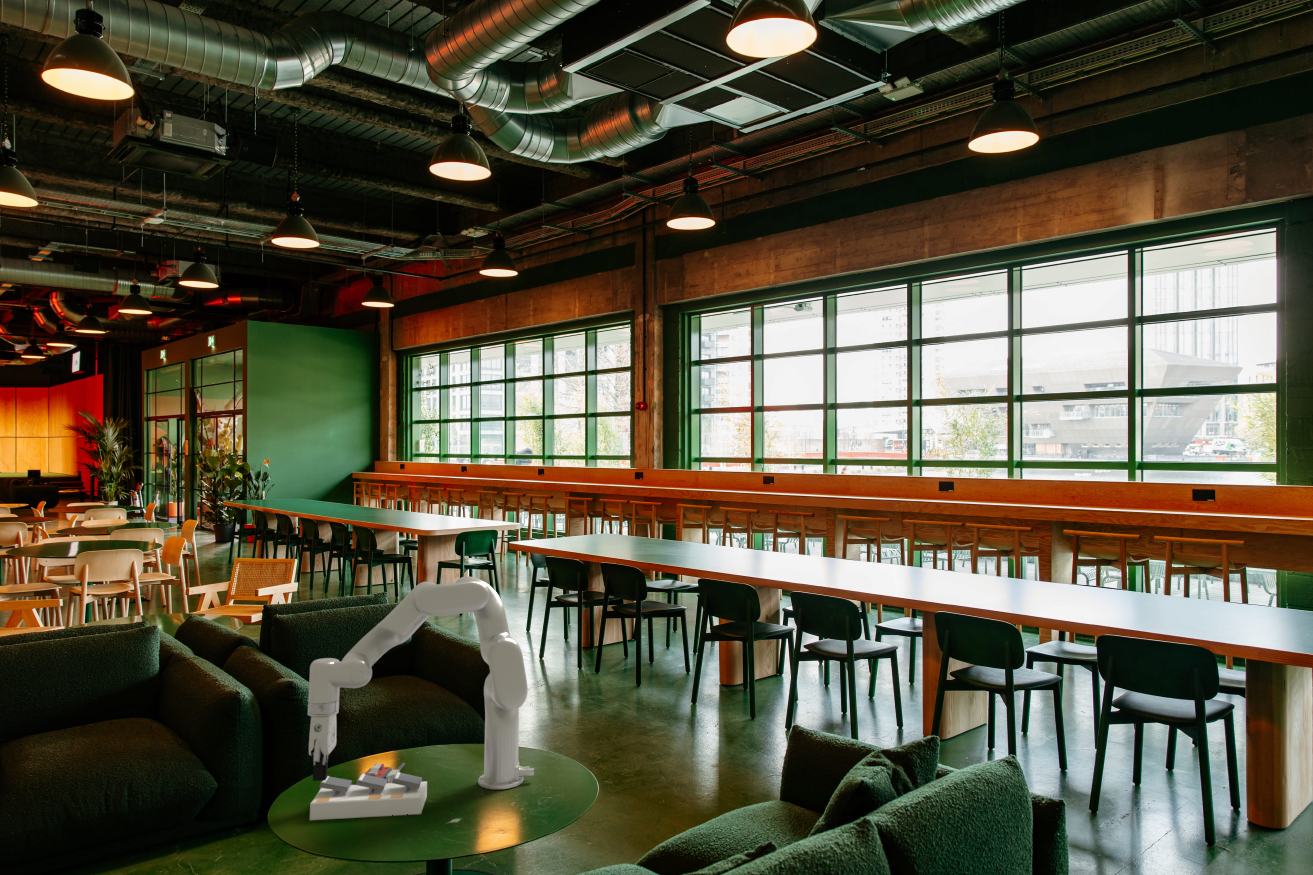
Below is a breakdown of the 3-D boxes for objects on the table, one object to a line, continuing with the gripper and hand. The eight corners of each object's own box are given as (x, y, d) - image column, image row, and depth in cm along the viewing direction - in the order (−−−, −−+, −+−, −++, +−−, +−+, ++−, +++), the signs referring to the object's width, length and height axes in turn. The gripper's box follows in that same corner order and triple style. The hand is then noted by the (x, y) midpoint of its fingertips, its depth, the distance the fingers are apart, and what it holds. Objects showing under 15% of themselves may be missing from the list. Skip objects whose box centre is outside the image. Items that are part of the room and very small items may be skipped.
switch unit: (426, 796, 217) (427, 775, 218) (420, 813, 206) (421, 792, 206) (321, 801, 213) (322, 780, 213) (309, 819, 201) (310, 797, 202)
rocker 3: (421, 781, 215) (422, 776, 215) (418, 788, 210) (420, 783, 210) (395, 776, 214) (396, 771, 214) (392, 782, 209) (393, 777, 209)
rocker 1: (351, 784, 212) (352, 779, 212) (346, 791, 207) (348, 786, 207) (324, 780, 211) (325, 775, 211) (319, 787, 206) (320, 781, 206)
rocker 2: (386, 783, 214) (387, 778, 214) (382, 790, 209) (384, 785, 209) (359, 777, 213) (361, 772, 213) (355, 784, 208) (357, 779, 208)
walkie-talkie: (385, 792, 221) (407, 768, 241) (386, 776, 221) (408, 753, 241) (353, 793, 220) (378, 768, 240) (354, 776, 221) (378, 753, 241)
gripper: (331, 714, 203) (327, 789, 202) (344, 699, 218) (341, 769, 217) (300, 715, 202) (296, 790, 201) (315, 700, 217) (312, 770, 216)
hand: (319, 779), depth 209 cm, fingers closed
